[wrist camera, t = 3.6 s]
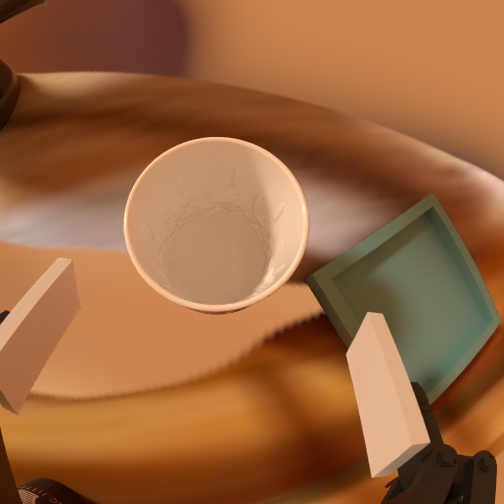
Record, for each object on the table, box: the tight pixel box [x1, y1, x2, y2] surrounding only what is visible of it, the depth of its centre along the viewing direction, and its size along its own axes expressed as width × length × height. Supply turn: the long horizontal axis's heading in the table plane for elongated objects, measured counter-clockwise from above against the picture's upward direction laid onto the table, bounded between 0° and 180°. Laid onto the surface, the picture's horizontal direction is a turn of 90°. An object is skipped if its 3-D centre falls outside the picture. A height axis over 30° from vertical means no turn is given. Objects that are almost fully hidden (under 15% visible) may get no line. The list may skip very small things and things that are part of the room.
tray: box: [304, 192, 501, 405], centre depth 22 cm, size 14×14×2 cm
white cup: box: [124, 137, 309, 314], centre depth 18 cm, size 8×8×10 cm
